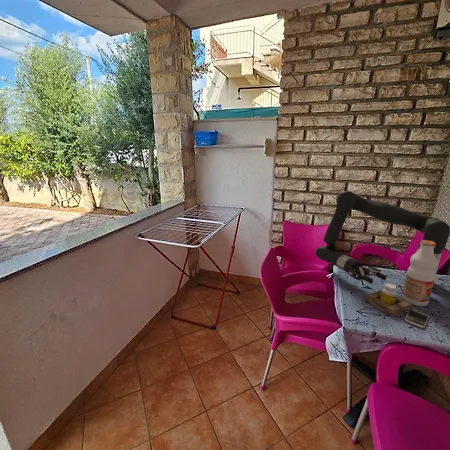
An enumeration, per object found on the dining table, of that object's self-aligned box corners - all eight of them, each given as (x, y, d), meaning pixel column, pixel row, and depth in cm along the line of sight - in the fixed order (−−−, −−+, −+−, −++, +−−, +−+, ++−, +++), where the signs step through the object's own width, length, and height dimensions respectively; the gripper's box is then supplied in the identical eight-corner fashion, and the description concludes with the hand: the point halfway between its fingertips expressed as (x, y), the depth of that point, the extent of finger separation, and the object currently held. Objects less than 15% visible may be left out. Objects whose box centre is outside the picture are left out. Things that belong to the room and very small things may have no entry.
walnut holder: (383, 295, 112) (384, 289, 111) (410, 310, 101) (412, 304, 101) (364, 300, 108) (366, 294, 107) (391, 316, 97) (392, 310, 96)
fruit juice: (399, 293, 114) (411, 237, 107) (424, 297, 110) (438, 239, 103) (404, 303, 106) (417, 243, 98) (431, 309, 102) (447, 247, 95)
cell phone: (403, 322, 95) (404, 319, 94) (410, 311, 102) (410, 308, 101) (423, 330, 90) (424, 327, 90) (428, 318, 97) (429, 315, 97)
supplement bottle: (382, 300, 108) (386, 281, 106) (396, 306, 104) (400, 286, 101) (376, 304, 105) (380, 284, 103) (390, 310, 101) (394, 290, 99)
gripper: (339, 260, 118) (369, 275, 103) (360, 256, 123) (391, 269, 108) (337, 274, 120) (366, 290, 105) (358, 269, 125) (388, 284, 111)
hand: (379, 279), depth 107 cm, fingers open, 8 cm apart
